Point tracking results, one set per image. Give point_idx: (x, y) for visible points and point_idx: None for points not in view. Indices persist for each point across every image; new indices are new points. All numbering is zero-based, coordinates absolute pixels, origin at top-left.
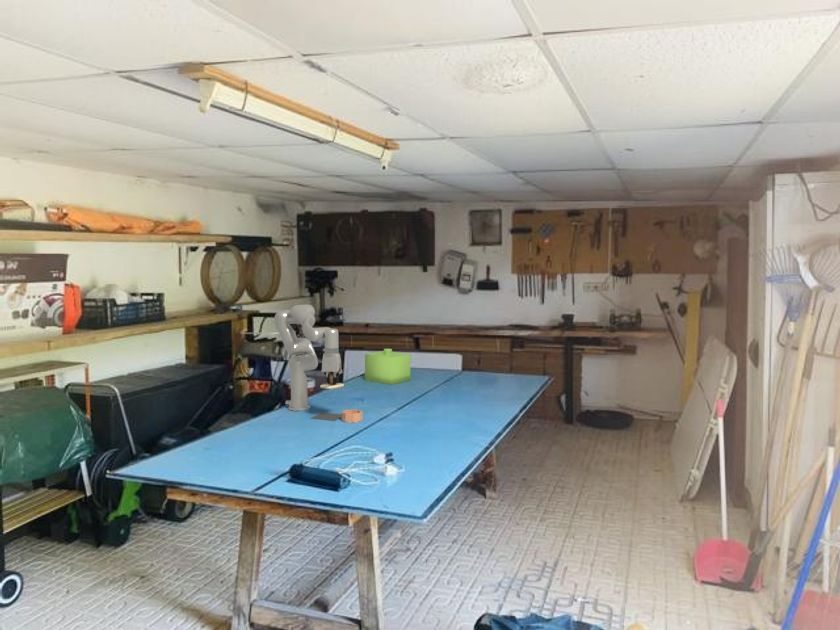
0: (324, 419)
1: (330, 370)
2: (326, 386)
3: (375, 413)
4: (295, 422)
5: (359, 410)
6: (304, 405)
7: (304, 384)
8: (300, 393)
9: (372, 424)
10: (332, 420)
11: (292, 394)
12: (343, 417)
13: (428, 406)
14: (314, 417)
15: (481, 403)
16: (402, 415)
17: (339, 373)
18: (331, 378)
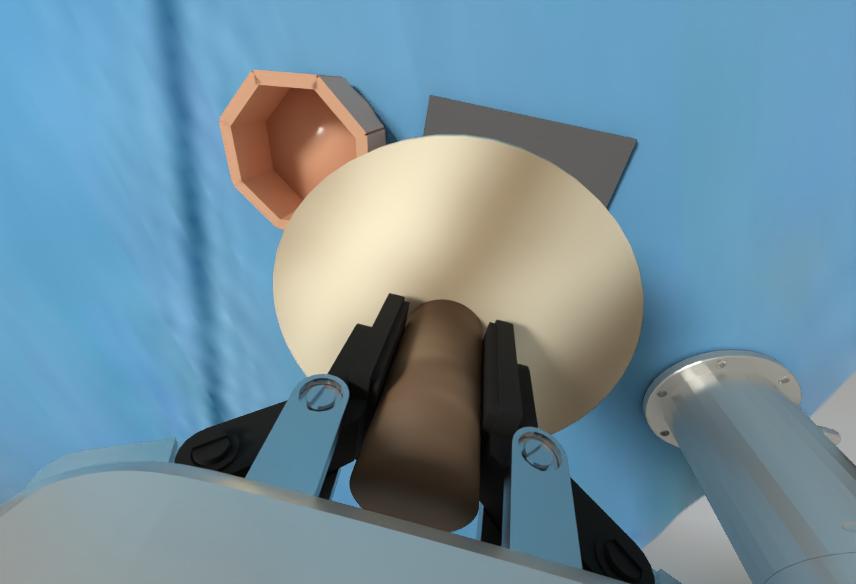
0: (514, 129)
1: (363, 579)
2: (509, 199)
3: (272, 328)
4: (772, 9)
5: (266, 212)
6: (691, 394)
7: (795, 550)
8: (784, 459)
9: (173, 82)
10: (448, 109)
11: (852, 463)
12: (356, 103)
13: (139, 431)
14: (599, 178)
15: (25, 459)
16: (144, 303)
17: (159, 453)
18: (423, 377)
